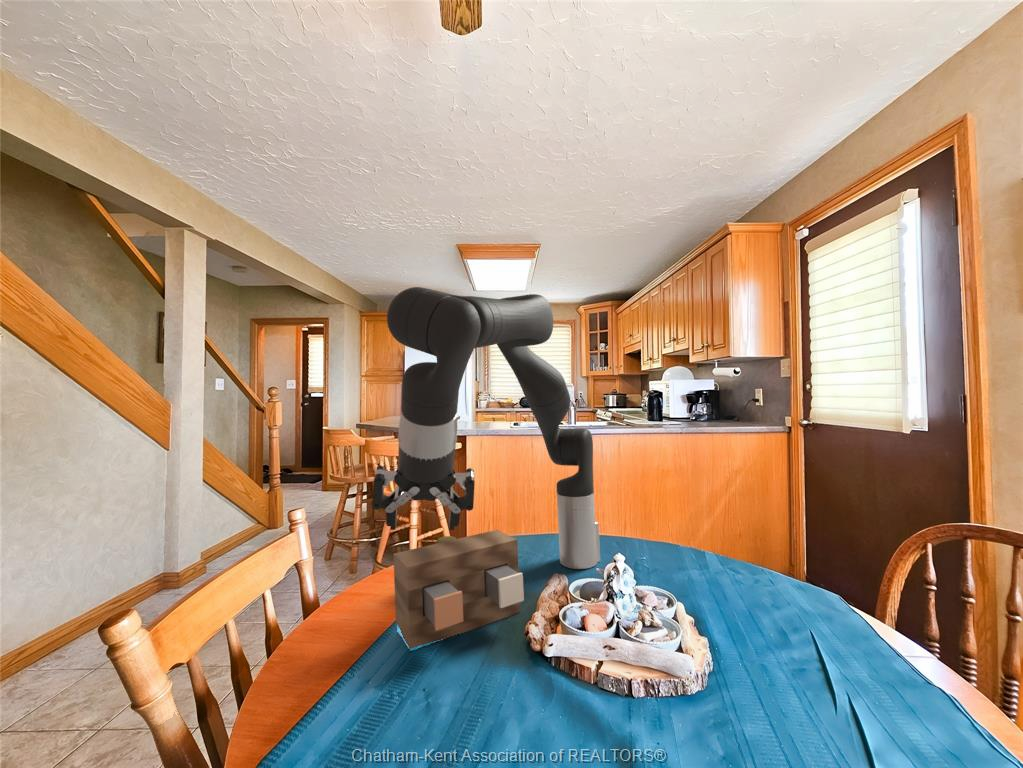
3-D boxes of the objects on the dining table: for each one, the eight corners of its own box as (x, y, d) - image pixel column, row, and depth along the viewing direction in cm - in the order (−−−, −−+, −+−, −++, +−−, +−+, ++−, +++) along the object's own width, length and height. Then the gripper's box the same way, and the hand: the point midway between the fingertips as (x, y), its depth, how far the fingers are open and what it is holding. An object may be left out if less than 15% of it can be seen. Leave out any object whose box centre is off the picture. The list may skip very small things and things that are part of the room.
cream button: (500, 583, 84) (499, 559, 84) (523, 600, 76) (522, 573, 77) (478, 590, 81) (477, 565, 81) (500, 608, 74) (499, 580, 74)
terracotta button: (443, 601, 78) (442, 574, 78) (463, 621, 70) (462, 591, 70) (417, 609, 75) (417, 581, 75) (436, 630, 68) (434, 600, 68)
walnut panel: (499, 596, 89) (497, 529, 90) (520, 612, 82) (517, 539, 83) (396, 630, 78) (393, 553, 78) (410, 652, 71) (407, 567, 71)
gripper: (479, 425, 61) (468, 507, 69) (376, 420, 58) (377, 506, 66) (482, 459, 54) (470, 545, 62) (367, 455, 52) (369, 546, 60)
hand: (422, 525), depth 64 cm, fingers open, 8 cm apart
